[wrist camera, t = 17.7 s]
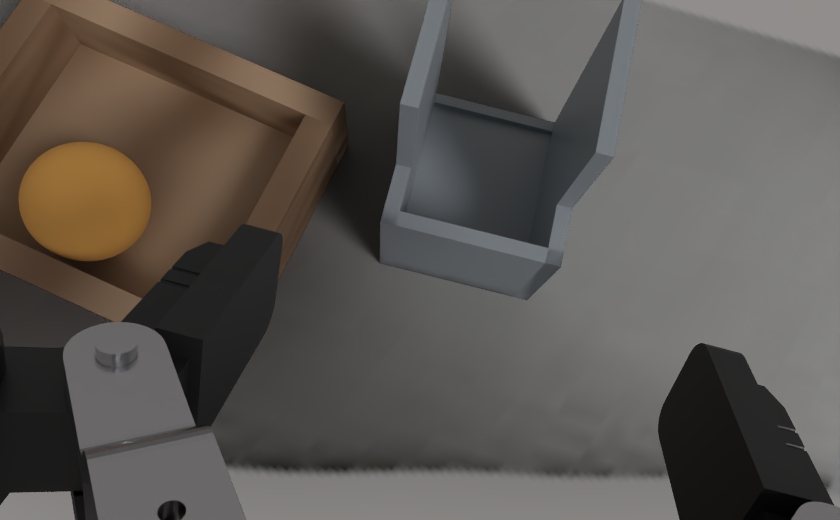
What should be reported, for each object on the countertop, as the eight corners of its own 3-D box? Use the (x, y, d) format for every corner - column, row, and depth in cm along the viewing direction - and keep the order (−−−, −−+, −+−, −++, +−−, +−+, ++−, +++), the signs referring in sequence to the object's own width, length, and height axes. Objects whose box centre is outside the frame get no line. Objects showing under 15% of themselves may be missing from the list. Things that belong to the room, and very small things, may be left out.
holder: (527, 300, 26) (601, 227, 17) (379, 263, 26) (380, 172, 17) (560, 138, 28) (642, -1, 19) (422, 103, 28) (443, -51, 19)
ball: (116, 294, 22) (181, 233, 25) (90, 184, 20) (164, 132, 23) (9, 272, 23) (85, 214, 26) (-29, 163, 20) (60, 115, 24)
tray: (348, 144, 27) (344, 102, 24) (229, 375, 25) (205, 363, 21) (82, 29, 28) (41, -29, 24) (-62, 241, 25) (-130, 209, 22)
